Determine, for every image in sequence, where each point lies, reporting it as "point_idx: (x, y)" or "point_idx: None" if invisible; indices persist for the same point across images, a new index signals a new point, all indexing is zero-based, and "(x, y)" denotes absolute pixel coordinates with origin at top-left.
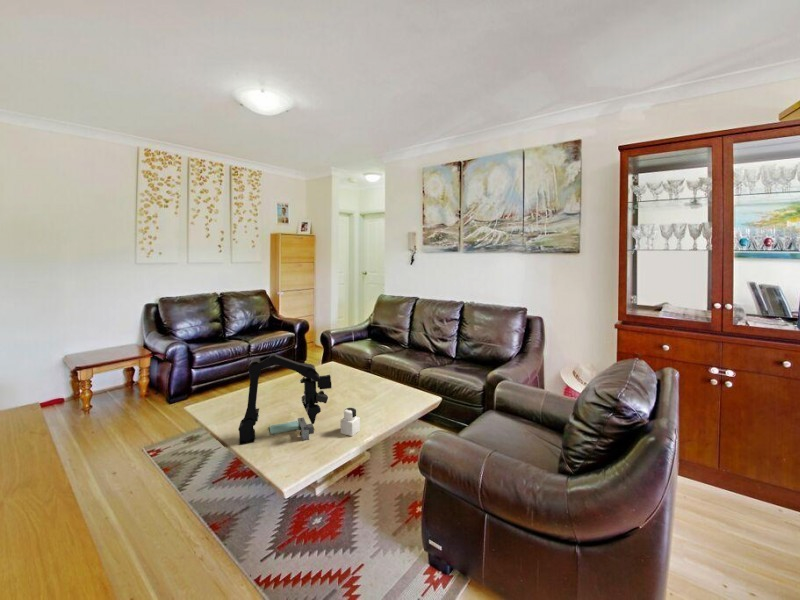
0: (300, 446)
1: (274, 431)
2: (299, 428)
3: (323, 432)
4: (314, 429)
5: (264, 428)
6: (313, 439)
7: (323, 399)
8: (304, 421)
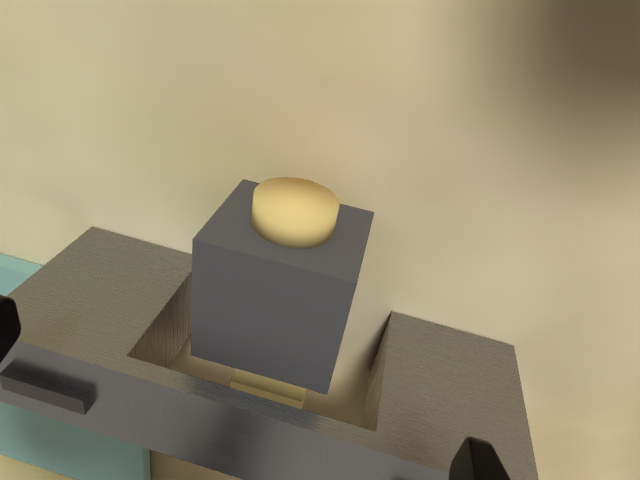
0: (588, 470)
1: (119, 474)
2: (181, 345)
3: (466, 58)
4: (337, 212)
5: (20, 468)
6: (563, 304)
7: None
8: (151, 390)
